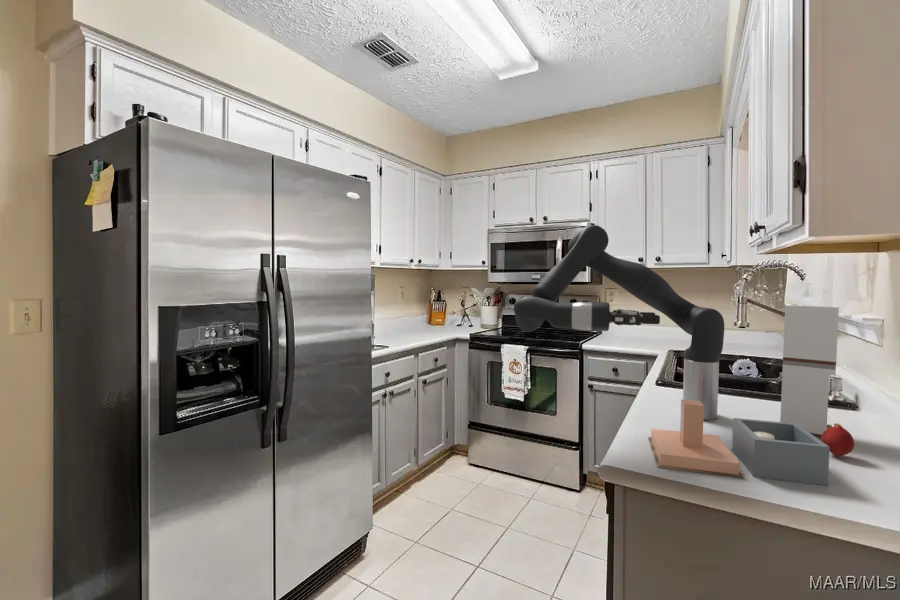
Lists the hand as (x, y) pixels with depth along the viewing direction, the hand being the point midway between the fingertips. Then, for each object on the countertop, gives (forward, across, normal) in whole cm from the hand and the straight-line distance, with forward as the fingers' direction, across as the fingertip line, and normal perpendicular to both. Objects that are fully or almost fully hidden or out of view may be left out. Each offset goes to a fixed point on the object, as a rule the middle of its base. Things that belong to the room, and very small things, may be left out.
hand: (657, 318), depth 110 cm
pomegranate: (+40, +4, +32) cm, 52 cm away
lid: (+7, -7, +32) cm, 33 cm away
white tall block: (+40, +20, +32) cm, 55 cm away
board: (+7, -7, +32) cm, 34 cm away
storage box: (+24, -7, +32) cm, 41 cm away
